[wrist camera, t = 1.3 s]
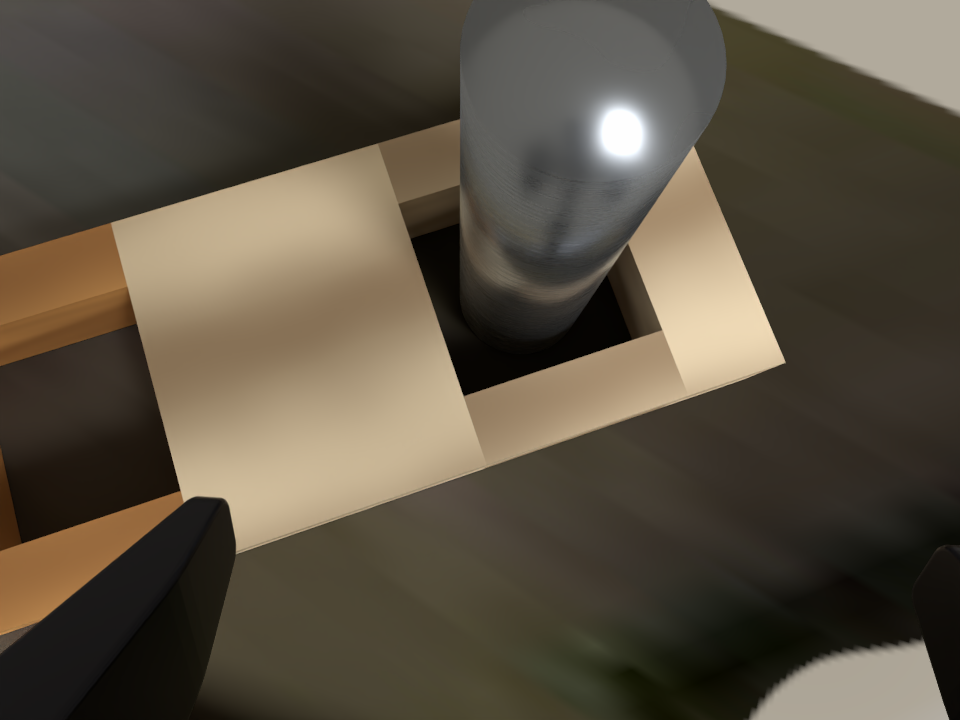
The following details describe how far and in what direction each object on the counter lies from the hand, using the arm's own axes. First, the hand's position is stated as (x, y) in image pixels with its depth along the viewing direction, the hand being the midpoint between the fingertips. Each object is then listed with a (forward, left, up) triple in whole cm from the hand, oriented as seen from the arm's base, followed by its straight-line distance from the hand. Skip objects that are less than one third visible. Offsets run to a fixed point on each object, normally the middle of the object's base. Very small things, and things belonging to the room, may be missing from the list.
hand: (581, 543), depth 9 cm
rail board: (+7, +4, -13) cm, 15 cm away
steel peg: (+7, -3, -13) cm, 15 cm away
